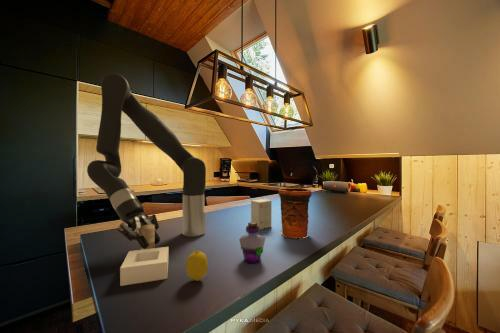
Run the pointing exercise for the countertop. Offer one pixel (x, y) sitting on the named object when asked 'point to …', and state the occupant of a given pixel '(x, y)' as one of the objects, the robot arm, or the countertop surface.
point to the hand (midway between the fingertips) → (152, 244)
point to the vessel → (294, 211)
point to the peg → (149, 235)
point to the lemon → (197, 265)
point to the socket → (144, 266)
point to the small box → (261, 213)
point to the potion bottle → (252, 244)
